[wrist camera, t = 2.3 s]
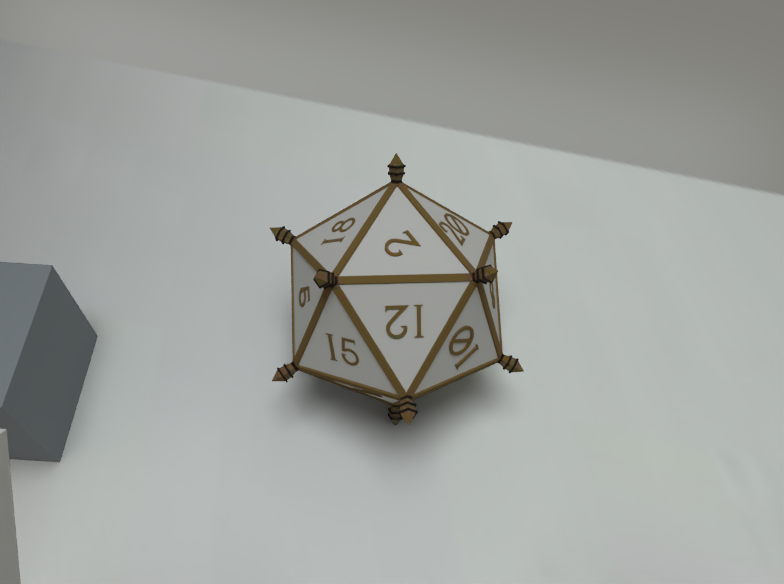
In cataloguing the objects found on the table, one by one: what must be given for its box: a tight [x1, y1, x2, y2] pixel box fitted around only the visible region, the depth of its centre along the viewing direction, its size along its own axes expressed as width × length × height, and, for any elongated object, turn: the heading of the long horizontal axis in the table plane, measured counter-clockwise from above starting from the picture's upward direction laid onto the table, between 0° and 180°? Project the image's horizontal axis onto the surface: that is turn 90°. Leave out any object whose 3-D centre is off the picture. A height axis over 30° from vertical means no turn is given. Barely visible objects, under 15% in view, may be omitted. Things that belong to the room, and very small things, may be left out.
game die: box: [270, 153, 523, 425], centre depth 25 cm, size 9×8×10 cm
